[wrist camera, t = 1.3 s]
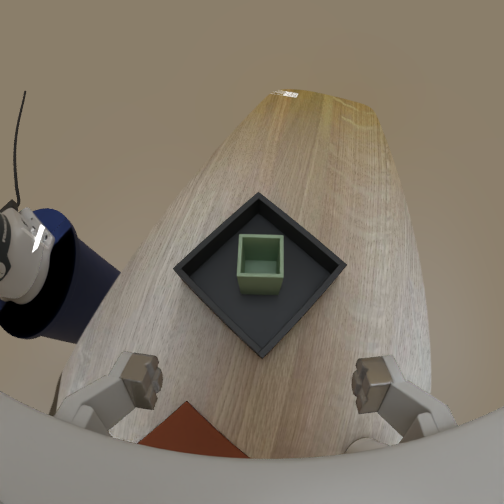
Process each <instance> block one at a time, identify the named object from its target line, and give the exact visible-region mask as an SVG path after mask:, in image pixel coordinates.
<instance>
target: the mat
mask: <svg viewBox="0 0 504 504" xmlns="http://www.w3.org/2000/svg"><path fill="white" fill-rule="evenodd" d="M137 444H140V445H145V446H149V447H154V448H159V449H165V450H170V451H176V452H183V453H190V454H197V455H206V456H216V457H229V458H249V457H248V456H246V455H245V454H244V453H243V452H242V451H240V450H239V449H238V448H237V447H236V446H234V445H233V444H232V443H231V442H230V441H229V440H228V439H226V438H225V437H224V436H223V435H222V434H221V433H220V432H219V431H217V430H216V429H215V428H214V427H213V426H212V425H211V424H210V423H209V422H208V421H207V420H206V419H205V418H204V417H203V416H201V415H200V414H199V413H198V412H197V411H196V410H195V409H194V408H193V407H192V406H191V405H190V404H189V403H188V402H187V401H186V402H185V403H184V404H183V405H182V406H180V407H179V408H178V409H177V410H176V411H175V412H174V413H173V414H171V415H170V416H169V417H168V418H167V419H166V420H165V421H163V422H162V423H161V424H160V425H159V426H158V427H156V428H155V429H154V430H153V431H152V432H151V433H149V434H148V435H147V436H146V437H145V438H143V439H142V440H141V441H140V442H139V443H137ZM249 459H250V458H249Z"/></svg>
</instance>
